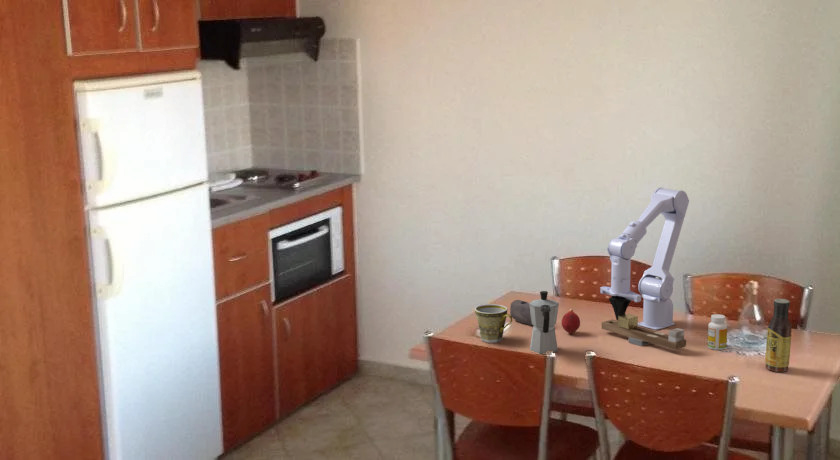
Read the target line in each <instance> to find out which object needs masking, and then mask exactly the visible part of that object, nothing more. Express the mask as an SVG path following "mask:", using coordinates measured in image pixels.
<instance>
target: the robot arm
mask: <svg viewBox="0 0 840 460" xmlns="http://www.w3.org/2000/svg"><path fill="white" fill-rule="evenodd" d="M689 204H690V199H689V196H688V194H687V192H686V191H685V190H677V189H670V188H664V187H658V188H656V189H655V190H654V192H653V193H651V195H650V202H649V204H648V205H647V206H646V208H645V209H644V211H643V212H642V213H641V215H640V216H639V217H638V219H637V220H632V221H630V222H629V224H628V225H627V227H625V229H623V231H622V232H621V233H620V234H619V236H618V237H615V238H612V239H611V240H610V242H609V243H608V247H606V248H607V249H606V250H607V254H608V255H609V260H610V262H611V270H610V271H611V272H610V273H611V275H610V276H611V277H610V286H605V285H604V286H601V287H599V289H600V294H602V295H604V294H605V295H609V296H611V297H609V298H608V301H609V302H610V304H611V306H612V308H613V312H614V316H615V320H616V321H618V316H620V315H624V314H626V312H627V310H628V307H629V306H630V304H631V302H632V301H633V302H634V303H640V302H642V298H643V306H642V307H643V308H642V309H643V310H642V316H643V317H642V321H640V322H638V326H639V327H642V328H646V329H650V330H653V331H658V330H662V329H665V328H668V327H671V326H674V325H675V324H676V323H675V322H674V303H673V301H672V299H671V296H672V295H673V291H674V281H675V278H674V277H673V276H672V274H671V273H670V268H671V264H672V262H673V258H674V254H675V252H676V248H677V244H678V241H679V238H680V233H681V231H682V227H683V224H684V220H685V217H686V214H687V210H688V207H689ZM660 214H661V215H662V216H663V217H664V219H665V221H664V225H663V226H662V227H663V228H662V231H661V235H660V238H659V241H658V245H657V249H656V252H655V255H654V258H653V262H652V266H651V267H649V268H648V269H645V270H644V272H643V275H642V277H641V278H640V279H639V281H638V285H637V286H638V287H637V288H638V292H639V293H640V294H638V293H636V292H634V291H631V263H632V262H631V258H632V257H634V256H635V252H636V249H637V247H638V244H639V243H640V241H642V239H643V238H644V237H645V236H646V234H647V227H648V226H650V224H652V223H653V222H654V221H655V219H656V218H657V217H658V216H659V215H660Z"/></svg>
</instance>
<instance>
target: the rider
mask: <svg viewBox="0 0 840 460" xmlns="http://www.w3.org/2000/svg"><path fill="white" fill-rule="evenodd" d="M638 316H639V315H636V314H632V313H625V314H624V315H620V316H618V320H617V321H618V326H619V327H623V328H626V329H634V327H636V326H638V327H639V325H638V323H639V317H638Z"/></svg>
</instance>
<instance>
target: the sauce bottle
mask: <svg viewBox="0 0 840 460" xmlns="http://www.w3.org/2000/svg"><path fill="white" fill-rule="evenodd" d="M790 304H791V303H790V300H788V299H787V298H775V299H774V300H773V306H774V307H773V314H772V316H771V319H770V322H769V324H768V326H767V331H766V332H767V333H766V345H765V357H764V359H765V360H764V364H765V369H766V370H769V371H771V372H773V373H776V372H777V373H784V372H786V371H788V370H789V366H790V359H791V358H790V357H791V354H790V353H791V346H792V345H791V344H792V327H793V326H792V322H791V321H790V320H789V308H790V306H791V305H790Z"/></svg>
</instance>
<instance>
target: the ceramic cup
mask: <svg viewBox="0 0 840 460" xmlns="http://www.w3.org/2000/svg"><path fill="white" fill-rule="evenodd" d="M508 310H509V309H508V307H507V306H505V305H502V304H494V303H493V304H492V303H491V304H489V303H487V304H481V305H478V306H476V307H475V308H474V313H475V317H476V321H477V324H478V331H479V335H480V340H481V342H484V343H488V344H498V343H499V342H502V341H503V336H504V330H505V329H506V327H507V326H509V325H511V324H512V322H513V318H512V317H511V315H510V313H508ZM507 318H509V319H510V321H509V322H508V323H507V324H506V321H507Z"/></svg>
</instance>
